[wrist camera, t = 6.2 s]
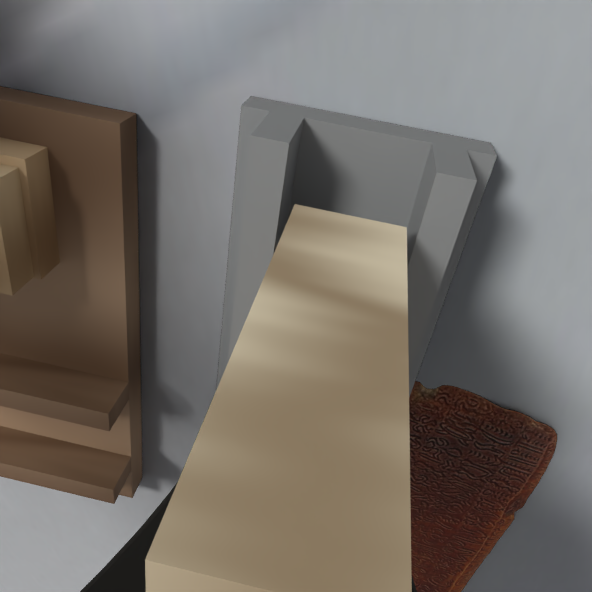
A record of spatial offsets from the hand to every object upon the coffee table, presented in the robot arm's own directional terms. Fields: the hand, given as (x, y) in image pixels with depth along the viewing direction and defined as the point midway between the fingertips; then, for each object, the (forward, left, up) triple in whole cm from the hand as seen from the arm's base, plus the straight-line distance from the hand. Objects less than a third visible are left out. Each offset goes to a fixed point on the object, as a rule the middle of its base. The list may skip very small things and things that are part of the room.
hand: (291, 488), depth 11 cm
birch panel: (0, 0, -3) cm, 3 cm away
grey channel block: (0, 0, -6) cm, 6 cm away
